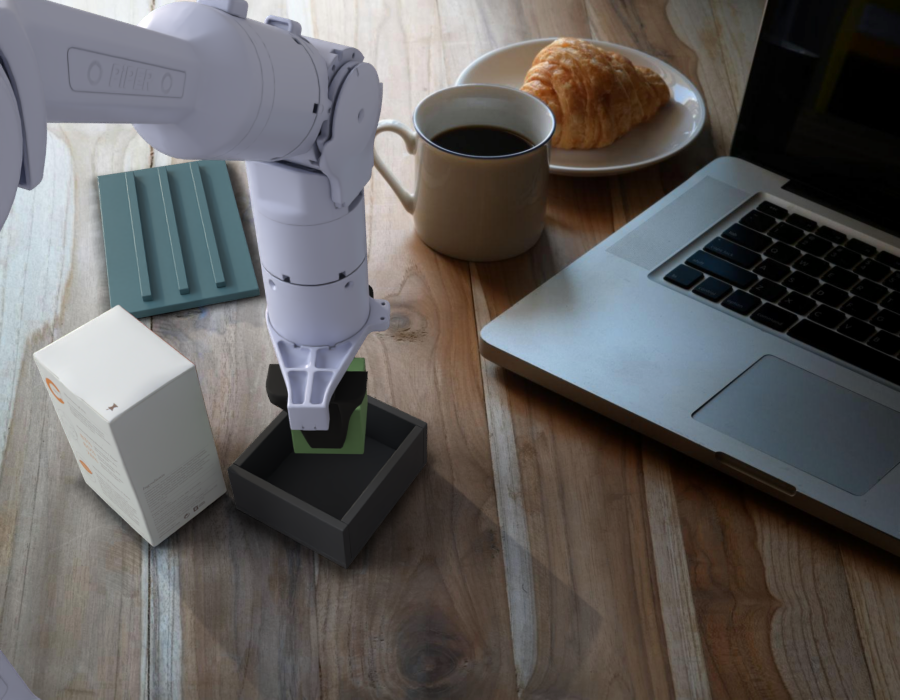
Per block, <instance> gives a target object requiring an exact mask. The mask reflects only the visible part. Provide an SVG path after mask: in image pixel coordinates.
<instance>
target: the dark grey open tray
mask: <svg viewBox="0 0 900 700" xmlns="http://www.w3.org/2000/svg"><path fill="white" fill-rule="evenodd" d="M367 400H368V404H367V417H366V431H365V444H364V453H363V454H317V453H295V452H294V445H293V439H292V432H291V427H290V421H289V414H288V413H286V412H285V411H284V410H282V409H281V411H280V412H279V413H278V414H277V415H276V416H275V417H274V418H273V419H272V421H271V422H269V424H268V425H267V426H266V427H265V428H264V429H263V430H262V431H261V432H260V434H258V436H256V437H255V438H254V439H253V441H252V442H251V443H250V444H249V445H248V446H247V447H246V448H245V449H244V450H243V451H242V452H241V453H240V454H239V456H238V457H237V458H236V459H235V460H234V461H233V462H232V463H231V464H230V466H228V467H227V469H226V472H227V475H228V479H229V484H230V487H231V492H232V495H233V500H234V505H235V508H236V509H237V510H239V511H241V512H242V513H244V514H246V515H248V516H250V517H251V518H253V519H255V520H256V521H259V522H261V523H262V524H264V525H266V526H267V527H269V528H271V529H273V530H275V531H277V532H278V533H280V534H282V535H284V536H286V537H287V538H289V539H291V540H293V541H295V542H297V543H298V544H300V545H302V546H304V547H306V548H307V549H308V550H311V551H313V552H314V553H317V554H318V555H320V556H323V557H324V558H325V559H328V560H329V561H331V562H333V563H334V564H336V565H338V566H339V567H342V568H344V569H346V570H347V569H348V568H349V567H350V566H351V564H352V563H353V562H354V561H355V559H356V557H358V555H359V553H360V552H362V550H363V548H365V545H366V544H367V543H368V542H369V541H370V540H371V538H372V537H373V535H374V534H375V532H376V531H377V530H378V529H379V527H380V526H381V525H382V523H383V521H384V520H385V519H386V518H387V516H388V515H389V514H390V513H391V511H392V510H393V509H394V507H395V506H396V505H397V503H398V502H399V500H400V499H401V498H402V497H403V495H404V494H405V493H406V492H407V490H408V489H409V487H410V486H411V485H412V483H413V482H414V480H416V478H417V476H418V475H419V474H420V472H421V471H422V470H424V469H423V468H424V467H425V466H426V465H427V463H428V425H429V424H428V422H427V421H424V420H422V419H420V418H418V417H416V416H413V415H412V414H410V413H408V412H406V411H404V410H403V411H402V410H401V409H399V408H397V407H395V406H392V405H390V404H388V403H386V402H384V401H382V400H379V399H378V398H376V397H374V396H372V395H369V394H367Z"/></svg>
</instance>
